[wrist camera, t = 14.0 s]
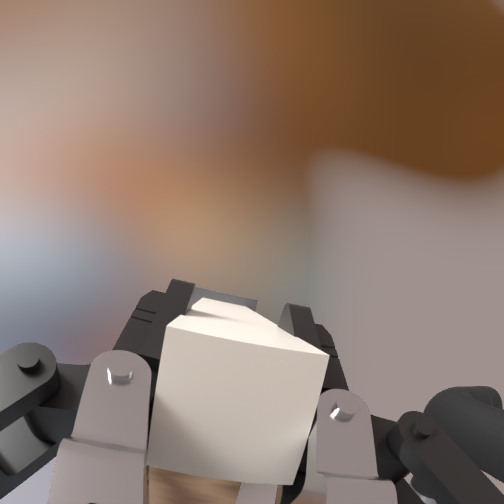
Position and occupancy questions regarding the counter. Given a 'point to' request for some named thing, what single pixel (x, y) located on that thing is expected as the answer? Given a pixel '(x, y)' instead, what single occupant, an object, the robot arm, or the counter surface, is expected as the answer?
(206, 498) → the walnut stand
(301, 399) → the white bar
